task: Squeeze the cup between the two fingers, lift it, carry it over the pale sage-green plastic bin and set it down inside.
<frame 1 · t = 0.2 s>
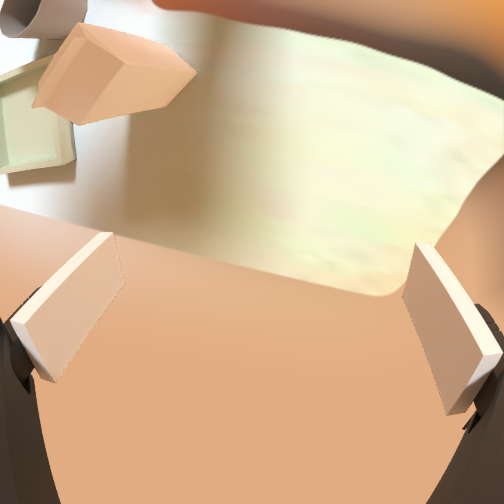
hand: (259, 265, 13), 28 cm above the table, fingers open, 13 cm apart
bin: (33, 115, 38), on the table
milk: (166, 75, 35), on the table
cup: (65, 13, 30), on the table
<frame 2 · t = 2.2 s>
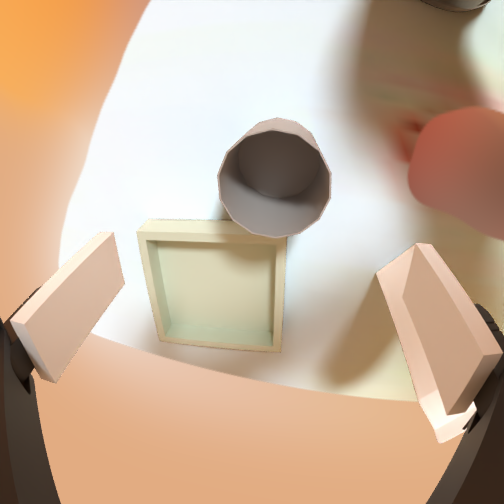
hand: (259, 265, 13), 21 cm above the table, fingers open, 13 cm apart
bin: (218, 281, 40), on the table
milk: (406, 273, 37), on the table
cup: (279, 157, 32), on the table
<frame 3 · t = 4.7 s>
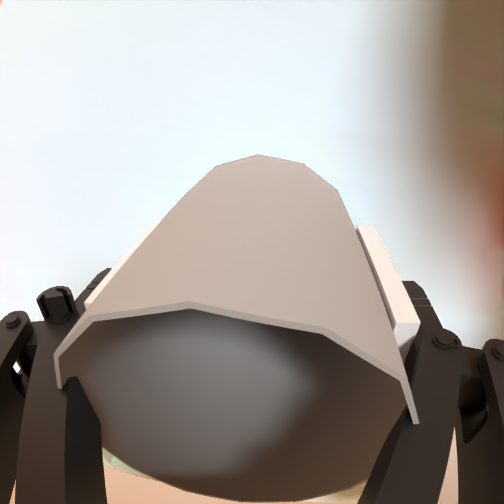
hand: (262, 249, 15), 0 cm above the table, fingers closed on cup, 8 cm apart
bin: (172, 414, 23), on the table
milk: (461, 400, 20), on the table
cup: (263, 244, 15), on the table, touching gripper
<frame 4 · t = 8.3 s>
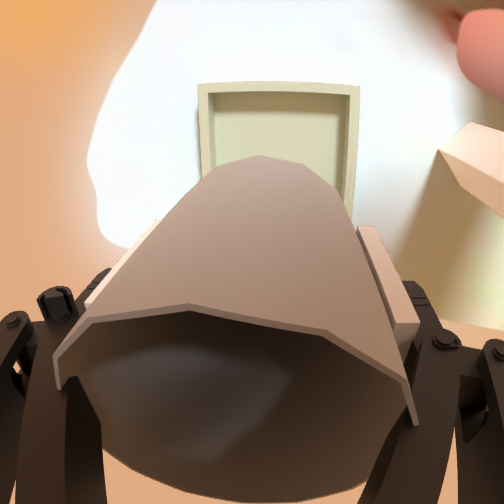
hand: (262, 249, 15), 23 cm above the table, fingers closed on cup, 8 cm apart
bin: (279, 153, 35), on the table
milk: (464, 154, 32), on the table
cup: (263, 244, 15), point 23 cm above the table, touching gripper
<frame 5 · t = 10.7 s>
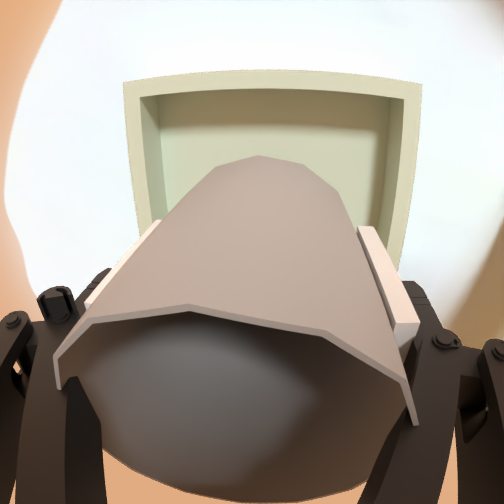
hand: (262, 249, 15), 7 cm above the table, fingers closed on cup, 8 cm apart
bin: (272, 196, 21), on the table
cup: (263, 244, 15), point 7 cm above the table, touching gripper
when the fingers open (4 cm above the table, at t = 12.4 s): cup drops 3 cm, resting on bin.
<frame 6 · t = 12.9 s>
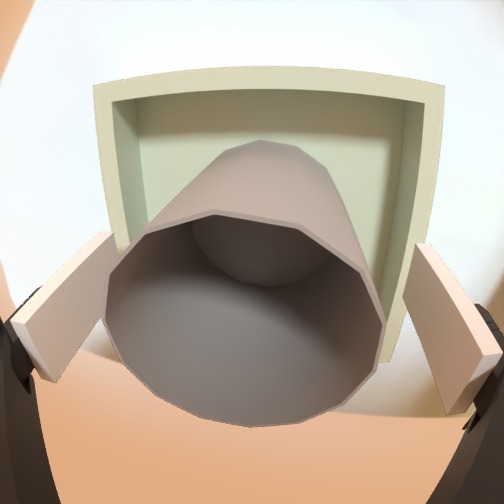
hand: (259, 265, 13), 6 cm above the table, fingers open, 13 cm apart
bin: (268, 214, 18), on the table
cup: (266, 215, 18), point 1 cm above the table, touching bin
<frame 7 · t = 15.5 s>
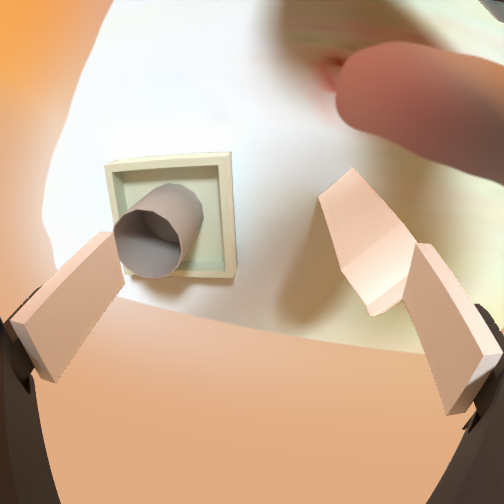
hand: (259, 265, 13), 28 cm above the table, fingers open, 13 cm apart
bin: (176, 212, 43), on the table
milk: (349, 198, 41), on the table
cup: (173, 212, 43), point 1 cm above the table, touching bin
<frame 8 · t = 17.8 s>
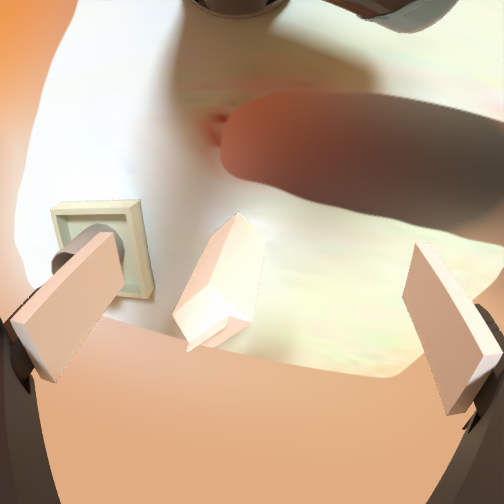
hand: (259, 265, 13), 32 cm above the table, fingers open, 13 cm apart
bin: (106, 244, 52), on the table
milk: (238, 237, 49), on the table
cup: (104, 245, 51), point 1 cm above the table, touching bin
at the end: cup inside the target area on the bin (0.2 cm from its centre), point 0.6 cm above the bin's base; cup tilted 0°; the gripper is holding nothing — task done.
